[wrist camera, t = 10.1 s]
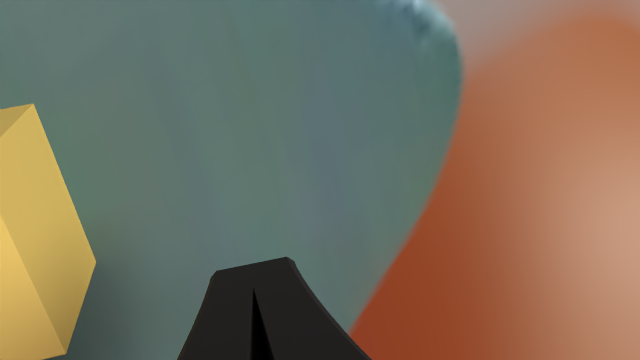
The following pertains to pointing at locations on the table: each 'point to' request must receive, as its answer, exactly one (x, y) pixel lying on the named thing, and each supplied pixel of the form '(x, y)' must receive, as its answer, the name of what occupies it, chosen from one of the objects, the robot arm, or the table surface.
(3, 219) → the chock
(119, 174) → the table surface
